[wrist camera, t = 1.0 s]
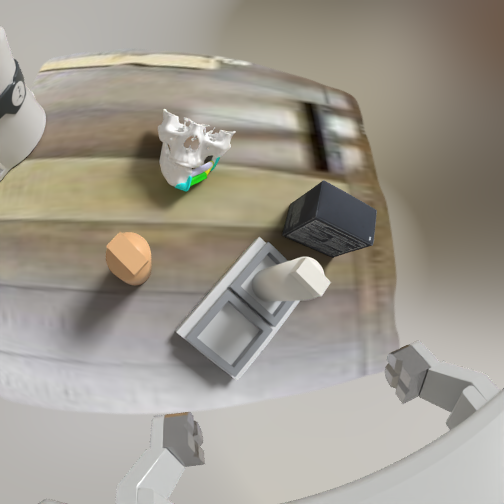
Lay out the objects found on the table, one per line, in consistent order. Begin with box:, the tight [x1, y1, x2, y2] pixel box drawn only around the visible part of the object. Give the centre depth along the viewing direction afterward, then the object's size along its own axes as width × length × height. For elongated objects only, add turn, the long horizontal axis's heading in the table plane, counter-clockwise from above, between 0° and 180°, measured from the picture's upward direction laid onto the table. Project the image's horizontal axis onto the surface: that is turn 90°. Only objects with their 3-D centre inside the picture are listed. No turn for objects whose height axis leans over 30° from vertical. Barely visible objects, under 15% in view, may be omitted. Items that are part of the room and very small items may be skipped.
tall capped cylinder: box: [106, 232, 151, 286], centre depth 31 cm, size 5×5×12 cm
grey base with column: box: [176, 237, 331, 381], centre depth 35 cm, size 18×11×14 cm, turn 140°
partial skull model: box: [158, 109, 236, 191], centre depth 39 cm, size 12×9×10 cm
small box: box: [282, 180, 377, 257], centre depth 43 cm, size 11×6×10 cm, turn 73°
